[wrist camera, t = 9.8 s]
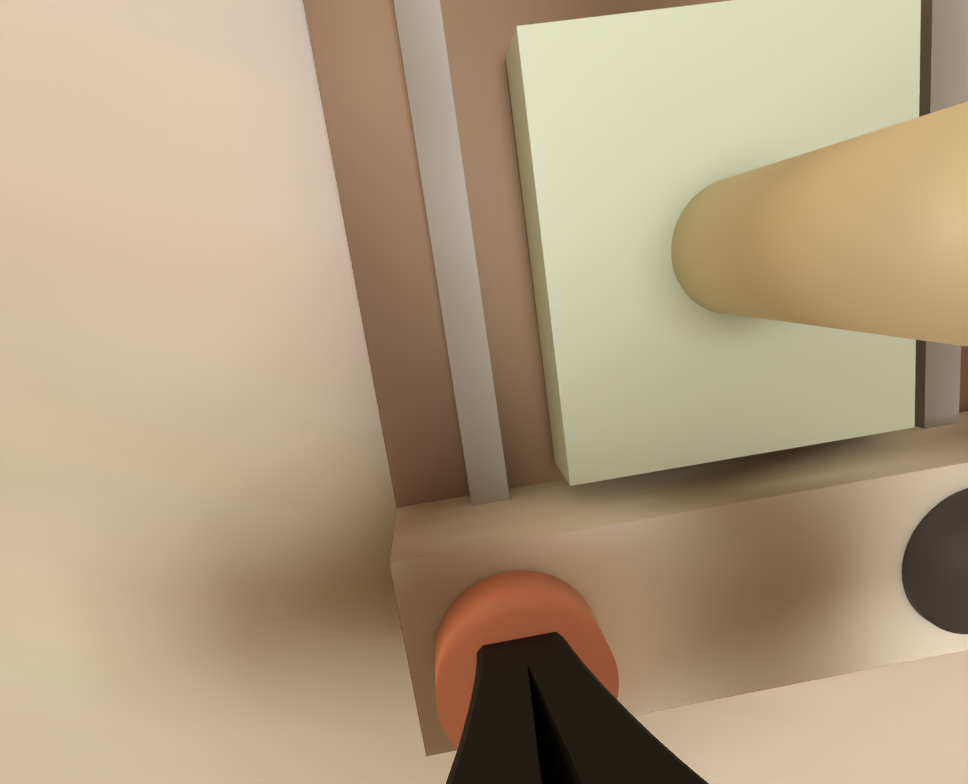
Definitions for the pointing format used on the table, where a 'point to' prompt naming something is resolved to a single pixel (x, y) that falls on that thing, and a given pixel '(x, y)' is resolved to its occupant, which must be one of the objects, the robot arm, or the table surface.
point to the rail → (525, 417)
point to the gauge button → (511, 634)
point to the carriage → (735, 227)
